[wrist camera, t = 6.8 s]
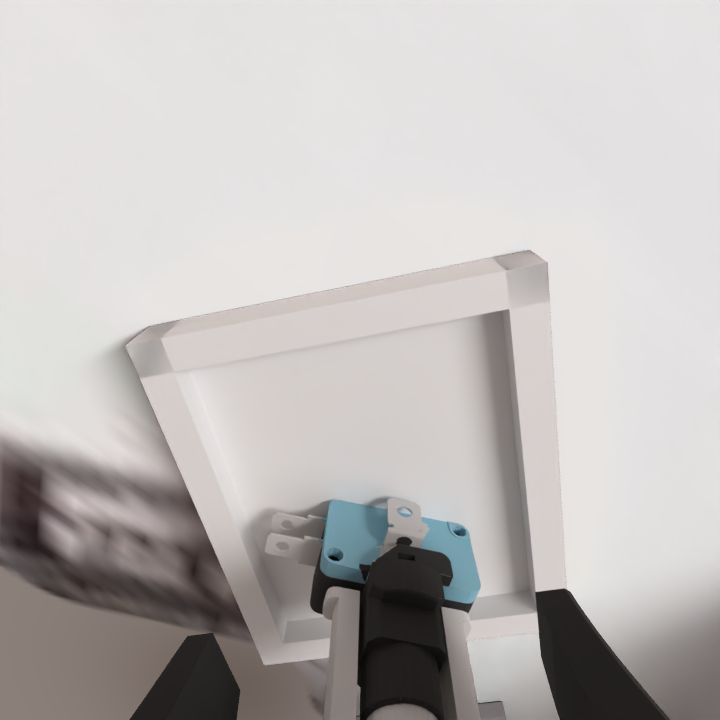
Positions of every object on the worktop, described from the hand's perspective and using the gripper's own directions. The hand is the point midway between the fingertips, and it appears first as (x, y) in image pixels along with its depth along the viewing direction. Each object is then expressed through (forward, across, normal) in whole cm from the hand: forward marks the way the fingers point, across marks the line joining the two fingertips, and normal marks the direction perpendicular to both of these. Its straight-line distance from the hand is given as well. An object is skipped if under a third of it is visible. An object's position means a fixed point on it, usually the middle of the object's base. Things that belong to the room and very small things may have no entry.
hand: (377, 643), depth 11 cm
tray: (+6, 0, 0) cm, 6 cm away
